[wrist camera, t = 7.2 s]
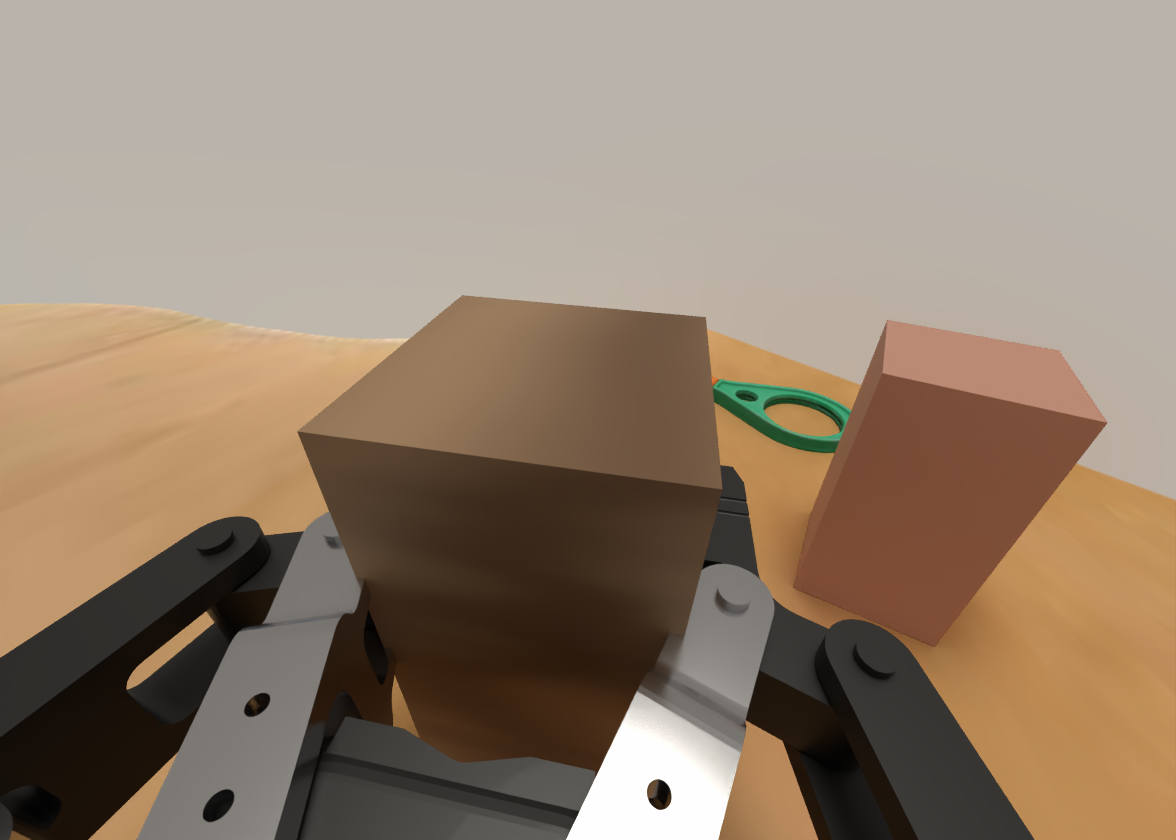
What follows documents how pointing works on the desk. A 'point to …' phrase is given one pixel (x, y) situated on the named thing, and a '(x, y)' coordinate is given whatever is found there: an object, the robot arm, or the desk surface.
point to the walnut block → (526, 515)
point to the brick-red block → (940, 473)
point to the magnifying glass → (767, 395)
